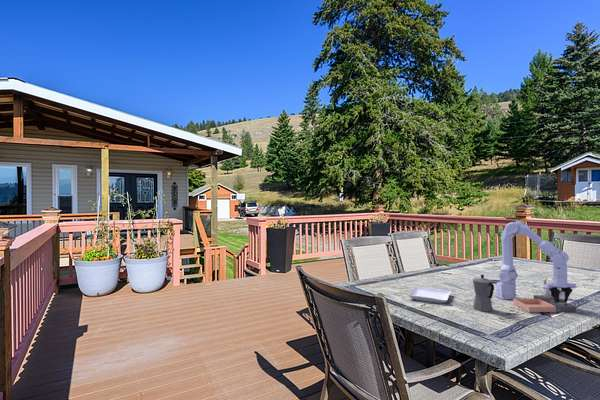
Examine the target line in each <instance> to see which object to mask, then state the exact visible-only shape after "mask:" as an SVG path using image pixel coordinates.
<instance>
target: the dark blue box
mask: <svg viewBox="0 0 600 400" xmlns="http://www.w3.org/2000/svg"><path fill="white" fill-rule="evenodd" d="M548 279H552V281H553V276H550V277H546V278H545V279H543V285H545V284H548V283H547V280H548ZM557 289H558V290H561V288H557ZM551 296H552V297H553V295H552V293H551Z"/></svg>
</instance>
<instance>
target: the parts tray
mask: <svg viewBox="0 0 600 400" xmlns="http://www.w3.org/2000/svg"><path fill="white" fill-rule="evenodd" d="M512 300H513V303H512V304H513V305H514V306H515V307H518V308H519V309H521V310H523V311H525V312H527V313H528V314H534V313H535V314H536V313H537V312H538V313H539V312H550V313H557V310H556V306H554V305H552V304H549V303H547V302H545V301H543V300H540V299H538V298H535V299H534V298H519V299H512Z"/></svg>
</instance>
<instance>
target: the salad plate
mask: <svg viewBox="0 0 600 400" xmlns="http://www.w3.org/2000/svg"><path fill="white" fill-rule="evenodd" d="M452 292H453V291H452V290H447V289H446V290H445V289H439V288H432V287H421V286H415V287H413V288H412V290H411V291H410V292H409V293H408V294H407V296H408V297H409V298H410V299H413V300H415V299H416V301H421V300H423V302H428V301H429V303H436V304H444V303H445V304H446V302H448V299H449V297H450V295H451V293H452Z"/></svg>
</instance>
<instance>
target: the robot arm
mask: <svg viewBox="0 0 600 400" xmlns="http://www.w3.org/2000/svg"><path fill="white" fill-rule="evenodd" d="M516 235H522V236H526V237H527V238H529V239H530V240H531V241H533V242H534V243H535V244H537V245H538V248H539V250H541V251H542V252H543V254H545V255H547V256H548V257H549V258H550V260H551V262H552V263H553V267H552V268H553V271H552V272H553V275H552V277H553V280H552V281H553V282H551V283H547V284H545V288H547V289H549V290H550V291H551V293H552V295H553V298H554V301H555V302H557V303H558V302H559V293H560V290H562V291H565V302H566V303H568V300H569V297H570V295H571V294H572V292H573V289H576V288H577V284H576V283H570V282H568V263H567V262H568V261H569V258H570V257H569V255H568V254H567V252H565V251H562V250H561V249H559V248H557V246H555V245H553V244H554V243H553V242H552V241H548V240H544V239H543V238H542V237H540V236H539V234H537V233H536V232H535V231H534V230H532V229H531V228H530V226H528V225H527V224H525V223H524V222H523V221H521V220H519V221H511V222H509V223H507V224H505V226H504V229H503V231H502V232H501V234H500V237H501V238H500V239H501V241H500V242H501V260H502V262H501V263H502V265H501V267H500V269H499V270H500V272H499V273H498V274H499V275H498V278H499V280H500V281H497V282H496V284H495V297H498V298H500V299H502V300H513V299H520V298H519V297H518V296H517V291H516V290H517V286H516V285H517V283H516V280H517V278H518V276H519V275H518V273H517V270H516V266H514V251H513V250H514V249H513V238H514V237H515V236H516ZM558 288H560V290H558Z"/></svg>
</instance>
